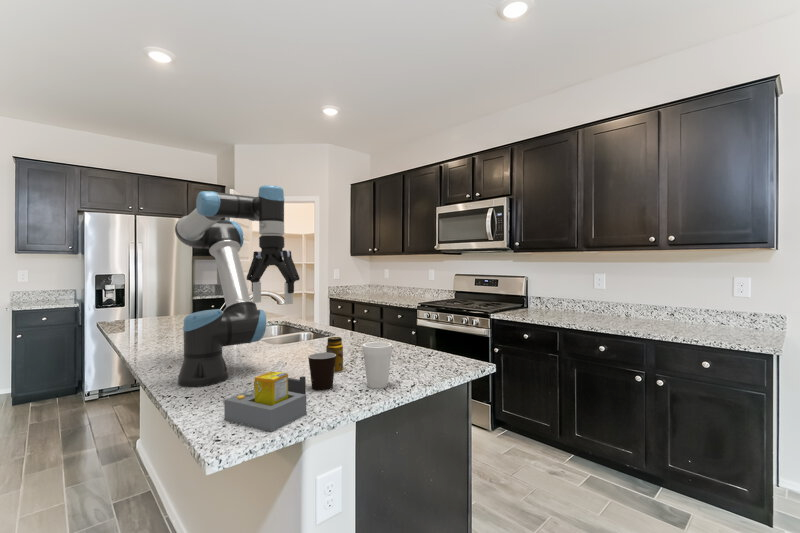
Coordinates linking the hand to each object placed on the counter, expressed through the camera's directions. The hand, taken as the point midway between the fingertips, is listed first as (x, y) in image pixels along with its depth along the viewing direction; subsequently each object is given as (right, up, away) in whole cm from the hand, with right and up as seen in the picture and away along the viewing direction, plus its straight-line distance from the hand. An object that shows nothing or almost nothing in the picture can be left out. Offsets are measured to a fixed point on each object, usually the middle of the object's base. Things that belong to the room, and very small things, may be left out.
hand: (272, 303), depth 122 cm
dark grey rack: (+5, -27, -8) cm, 28 cm away
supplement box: (+8, -27, -24) cm, 37 cm away
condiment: (+15, -27, +20) cm, 37 cm away
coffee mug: (+16, -27, +2) cm, 31 cm away
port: (+6, -27, -23) cm, 36 cm away
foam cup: (+33, -27, +2) cm, 42 cm away
